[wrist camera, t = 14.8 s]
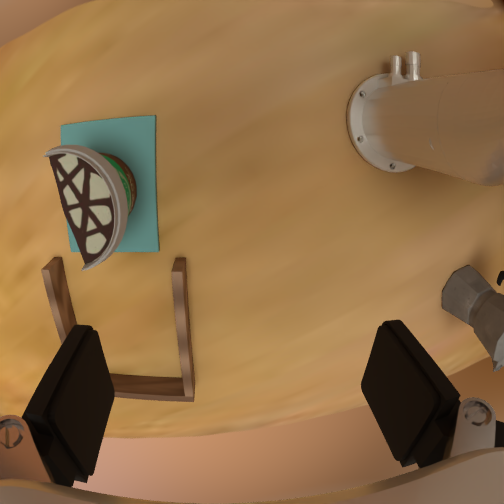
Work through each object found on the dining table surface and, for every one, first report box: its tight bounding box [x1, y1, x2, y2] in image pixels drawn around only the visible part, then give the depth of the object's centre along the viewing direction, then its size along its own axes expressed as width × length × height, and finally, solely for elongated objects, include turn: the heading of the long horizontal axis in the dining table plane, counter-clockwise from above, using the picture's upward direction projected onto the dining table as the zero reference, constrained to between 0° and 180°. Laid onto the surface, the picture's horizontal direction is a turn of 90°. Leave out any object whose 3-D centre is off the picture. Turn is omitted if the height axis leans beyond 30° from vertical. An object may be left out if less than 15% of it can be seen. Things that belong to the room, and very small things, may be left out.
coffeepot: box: [442, 265, 504, 371], centre depth 36 cm, size 15×9×18 cm, turn 175°
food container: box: [43, 145, 137, 271], centre depth 29 cm, size 12×6×10 cm, turn 13°
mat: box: [61, 116, 159, 252], centre depth 34 cm, size 16×12×1 cm
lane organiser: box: [41, 257, 195, 402], centre depth 39 cm, size 21×18×4 cm
